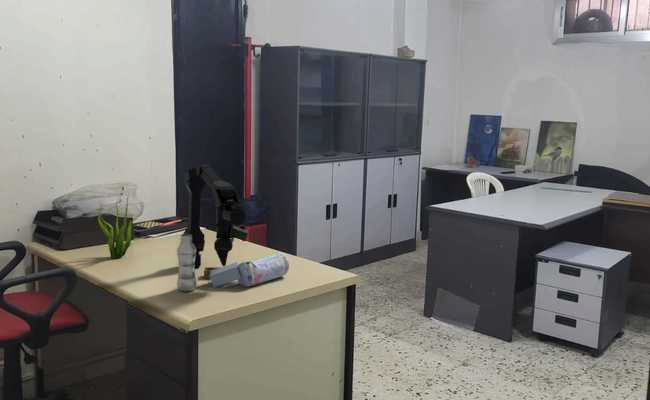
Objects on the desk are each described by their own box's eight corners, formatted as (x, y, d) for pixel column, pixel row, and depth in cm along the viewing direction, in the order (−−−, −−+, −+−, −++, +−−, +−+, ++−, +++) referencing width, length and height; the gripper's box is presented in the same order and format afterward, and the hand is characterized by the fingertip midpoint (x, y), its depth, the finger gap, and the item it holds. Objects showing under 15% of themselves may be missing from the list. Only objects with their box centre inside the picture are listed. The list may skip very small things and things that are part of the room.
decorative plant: (84, 203, 240) (89, 187, 253) (110, 263, 255) (114, 244, 268) (129, 192, 242) (131, 176, 254) (153, 252, 257) (154, 233, 269)
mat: (206, 288, 216) (206, 287, 216) (208, 282, 224) (208, 281, 224) (240, 288, 218) (240, 287, 218) (241, 281, 225) (241, 281, 225)
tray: (204, 279, 228) (203, 270, 227) (205, 275, 233) (205, 267, 232) (246, 278, 230) (246, 270, 229) (247, 275, 234) (247, 267, 234)
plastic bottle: (178, 287, 216) (177, 233, 213) (197, 287, 217) (197, 233, 214) (175, 293, 210) (174, 237, 207) (195, 293, 211) (194, 237, 207)
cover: (213, 287, 217) (209, 276, 216) (215, 281, 224) (210, 270, 223) (240, 278, 217) (236, 267, 216) (240, 273, 224) (236, 261, 223)
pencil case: (249, 290, 216) (250, 264, 214) (233, 283, 221) (234, 258, 220) (290, 278, 231) (291, 254, 230) (274, 273, 237) (275, 249, 235)
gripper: (246, 225, 209) (246, 269, 211) (247, 215, 227) (247, 256, 229) (213, 225, 207) (214, 269, 210) (217, 215, 226) (217, 256, 228)
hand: (224, 262), depth 219 cm, fingers open, 9 cm apart
